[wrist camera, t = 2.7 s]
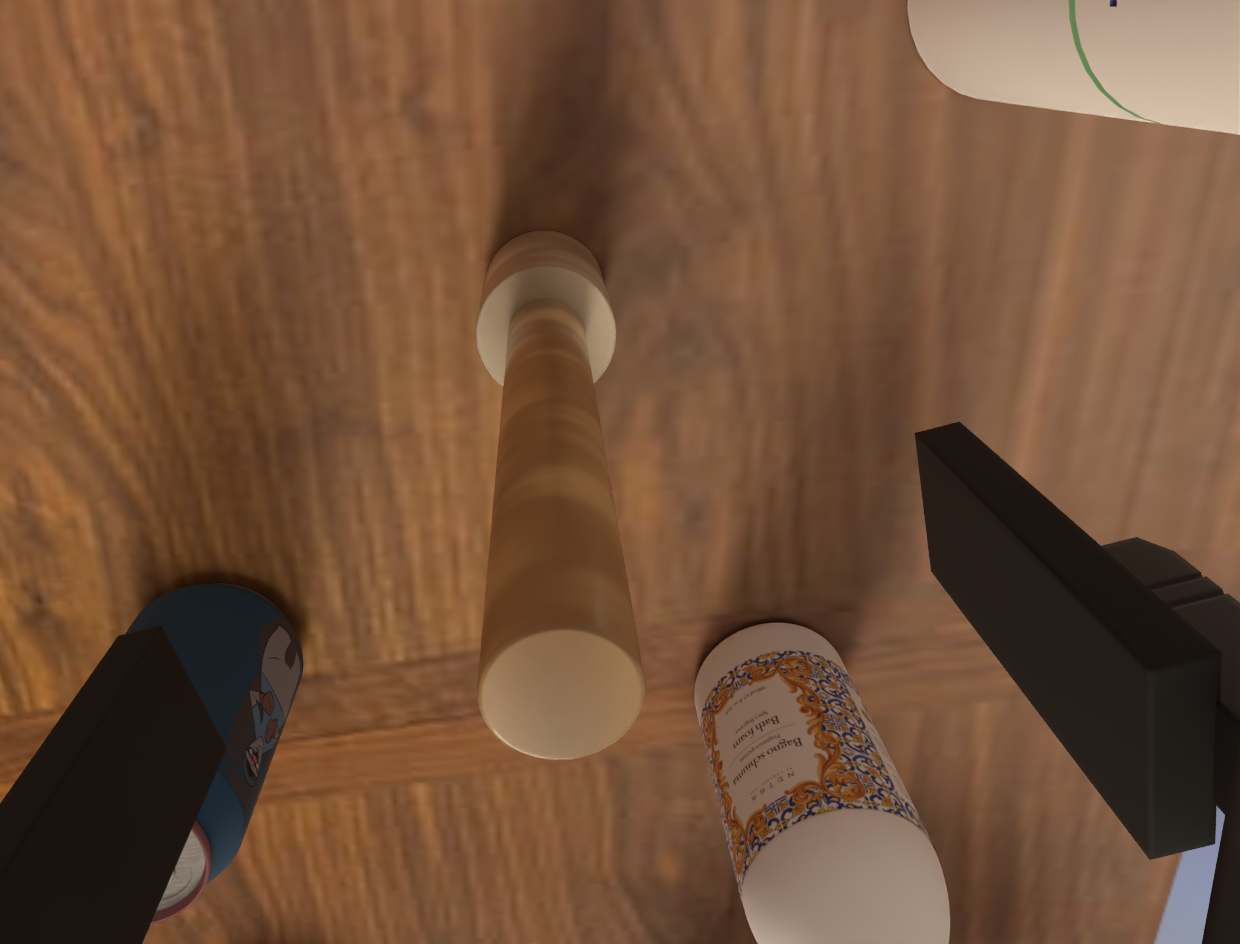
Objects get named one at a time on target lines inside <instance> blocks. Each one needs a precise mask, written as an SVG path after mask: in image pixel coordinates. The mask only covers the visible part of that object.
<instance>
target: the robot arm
mask: <svg viewBox="0 0 1240 944" xmlns="http://www.w3.org/2000/svg"><path fill="white" fill-rule="evenodd" d="M915 439H916V447H917V456H918V464H919V473H920V481H921V490H922V498H923V507H924V515H925V524H926V532H927V541H928V549H929V557H930V566H931V572H932V573H933V574H934V576H935V577H936V578H937V580H938V581H939V582H940V584H941V585H942V586H943V588H944V589H945V590H946V592H947V593H948V594H949V595H950V597H951V598H952V599H953V601H954V602H955V603H956V605H957V606H958V607H959V609H960V610H961V611H962V613H963V614H964V615H965V617H966V618H967V619H968V621H969V622H970V623H971V625H972V626H973V627H974V628H975V630H976V631H977V632H978V634H979V635H980V636H981V638H982V639H983V640H984V642H985V643H986V644H987V646H988V647H989V648H990V650H991V651H992V652H993V654H994V655H995V656H996V657H997V659H998V660H999V661H1000V663H1001V664H1002V665H1003V667H1004V668H1005V669H1006V671H1007V672H1008V673H1009V675H1010V676H1011V677H1012V679H1013V680H1014V681H1015V683H1016V684H1017V685H1018V687H1019V688H1020V689H1021V690H1022V692H1023V693H1024V694H1025V696H1026V697H1027V698H1028V700H1029V701H1030V702H1031V704H1032V705H1033V706H1034V708H1035V709H1036V710H1037V712H1038V713H1039V714H1040V716H1041V717H1042V718H1043V719H1044V721H1045V722H1046V723H1047V725H1048V726H1049V727H1050V729H1051V730H1052V731H1053V733H1054V734H1055V735H1056V737H1057V738H1058V739H1059V741H1060V742H1061V743H1062V745H1063V746H1064V747H1065V749H1066V750H1067V751H1068V752H1069V754H1070V755H1071V756H1072V758H1073V759H1074V760H1075V762H1076V763H1077V764H1078V766H1079V767H1080V768H1081V770H1082V771H1083V772H1084V774H1085V775H1086V776H1087V778H1088V779H1089V780H1090V781H1091V783H1092V784H1093V785H1094V787H1095V788H1096V789H1097V791H1098V792H1099V793H1100V795H1101V796H1102V797H1103V799H1104V800H1105V801H1106V803H1107V804H1108V805H1109V807H1110V808H1111V809H1112V810H1113V812H1114V813H1115V814H1116V816H1117V817H1118V818H1119V820H1120V821H1121V822H1122V824H1123V825H1124V826H1125V828H1126V829H1127V830H1128V832H1129V833H1130V834H1131V836H1132V837H1133V838H1134V840H1135V841H1136V842H1137V843H1138V845H1139V846H1140V847H1141V849H1142V850H1143V851H1144V853H1145V854H1146V855H1147V857H1148V858H1149V859H1150V860H1151V859H1155V858H1159V857H1163V856H1168V855H1172V854H1176V853H1180V852H1184V851H1188V850H1192V849H1196V848H1200V847H1205V846H1209V845H1213V844H1215V831H1216V805H1217V806H1218V808H1219V809H1220V810H1221V811H1222V812H1223V813H1224V814H1225V820H1224V825H1223V830H1222V836H1221V842H1220V847H1219V852H1218V858H1217V863H1216V869H1215V874H1214V880H1213V886H1212V891H1211V896H1210V903H1209V908H1208V913H1207V918H1206V924H1205V929H1204V935H1203V940H1202V944H1240V603H1239V602H1238V601H1237V600H1235V599H1234V598H1233V597H1232V596H1230V595H1229V594H1224V593H1223V590H1222V589H1221V588H1220V587H1219V586H1218V585H1216V584H1215V583H1214V582H1212V581H1211V580H1210V579H1209V578H1207V577H1202V575H1201V572H1200V571H1199V570H1197V569H1196V568H1195V567H1193V566H1192V565H1191V564H1190V563H1188V562H1187V561H1186V560H1185V559H1183V558H1182V557H1181V556H1179V555H1178V554H1177V553H1176V552H1174V551H1172V550H1169V549H1167V548H1164V547H1161V546H1159V545H1156V544H1153V543H1151V542H1148V541H1146V540H1143V539H1140V538H1138V537H1135V538H1131V539H1127V540H1123V541H1119V542H1115V543H1111V544H1107V545H1103V546H1100V545H1099V544H1098V543H1097V542H1096V541H1095V540H1093V539H1092V538H1091V537H1090V536H1089V535H1088V534H1087V533H1086V532H1084V531H1083V530H1082V529H1081V528H1080V527H1079V526H1078V525H1076V524H1075V523H1074V522H1073V521H1072V520H1071V519H1070V518H1068V517H1067V516H1066V515H1065V514H1064V513H1063V512H1062V511H1061V510H1059V509H1058V508H1057V507H1056V506H1055V505H1054V504H1053V503H1051V502H1050V501H1049V500H1048V499H1047V498H1046V497H1045V496H1043V495H1042V494H1041V493H1040V492H1039V491H1038V490H1037V489H1036V488H1034V487H1033V486H1032V485H1031V484H1030V483H1029V482H1028V481H1026V480H1025V479H1024V478H1023V477H1022V476H1021V475H1020V474H1018V473H1017V472H1016V471H1015V470H1014V469H1013V468H1012V467H1011V466H1009V465H1008V464H1007V463H1006V462H1005V461H1004V460H1003V459H1001V458H1000V457H999V456H998V455H997V454H996V453H995V452H993V451H992V450H991V449H990V448H989V447H988V446H987V445H986V444H984V443H983V442H982V441H981V440H980V439H979V438H978V437H976V436H975V435H974V434H973V433H972V432H971V431H970V430H968V429H967V428H966V427H965V426H964V425H963V424H962V423H961V422H957V423H953V424H949V425H945V426H941V427H937V428H933V429H929V430H925V431H921V432H917V433H915ZM226 750H227V747H226V745H225V743H224V741H223V740H222V738H221V736H220V734H219V732H218V730H217V728H216V726H215V725H214V723H213V721H212V719H211V717H210V715H209V713H208V711H207V710H206V708H205V706H204V704H203V702H202V700H201V698H200V696H199V695H198V693H197V691H196V689H195V687H194V685H193V683H192V681H191V680H190V678H189V676H188V674H187V672H186V670H185V668H184V667H183V665H182V663H181V661H180V659H179V657H178V655H177V653H176V652H175V650H174V648H173V646H172V644H171V642H170V640H169V638H168V637H167V635H166V633H165V631H164V629H163V627H162V625H160V626H156V627H152V628H148V629H144V630H140V631H136V632H132V633H128V634H124V635H120V636H118V637H117V638H116V640H115V641H114V643H113V644H112V646H111V647H110V648H109V650H108V651H107V653H106V654H105V656H104V657H103V658H102V660H101V661H100V663H99V664H98V666H97V667H96V668H95V670H94V671H93V673H92V674H91V675H90V677H89V678H88V680H87V681H86V683H85V684H84V685H83V687H82V688H81V690H80V691H79V693H78V694H77V695H76V697H75V698H74V700H73V701H72V702H71V704H70V705H69V707H68V708H67V710H66V711H65V712H64V714H63V715H62V717H61V718H60V720H59V721H58V722H57V724H56V725H55V727H54V728H53V729H52V731H51V732H50V734H49V735H48V737H47V738H46V739H45V741H44V742H43V744H42V745H41V747H40V748H39V749H38V751H37V752H36V754H35V755H34V756H33V758H32V759H31V761H30V762H29V764H28V765H27V766H26V768H25V769H24V771H23V772H22V774H21V775H20V776H19V778H18V779H17V781H16V782H15V783H14V785H13V786H12V788H11V789H10V791H9V792H8V793H7V795H6V796H5V798H4V799H3V801H2V802H1V803H0V944H142V942H143V940H144V938H145V935H146V933H147V931H148V929H149V926H150V924H151V922H152V919H153V917H154V915H155V913H156V910H157V908H158V906H159V903H160V901H161V899H162V896H163V894H164V892H165V890H166V887H167V885H168V883H169V880H170V878H171V876H172V874H173V871H174V869H175V867H176V864H177V862H178V860H179V857H180V855H181V853H182V851H183V848H184V846H185V844H186V841H187V839H188V837H189V835H190V832H191V830H192V828H193V825H194V823H195V821H196V818H197V816H198V814H199V812H200V809H201V807H202V805H203V802H204V800H205V798H206V796H207V793H208V791H209V789H210V786H211V784H212V782H213V779H214V777H215V775H216V773H217V770H218V768H219V766H220V763H221V761H222V759H223V757H224V754H225V752H226Z"/></svg>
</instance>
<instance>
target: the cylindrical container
mask: <svg viewBox="0 0 1240 944" xmlns="http://www.w3.org/2000/svg"><path fill="white" fill-rule="evenodd" d="M907 11H908V18H909V25H910V31H911V34H912V37H913V40H914V43H915V45H916V48H917V51H918V53H919V55H920V56H921V58H922V59H923V61H924V63H925V64H926V66H927V67H928V69H929V70H930V71H931V72H932V73H933V74H934V75H935V76H936V77H937V78H938V79H939V80H940V81H941V82H942V83H943V84H944V85H946V86H948V87H949V88H951V89H953V90H954V91H956V92H958V93H959V94H962V95H966V96H969V97H972V98H975V99H980V100H988V101H995V102H1002V103H1010V104H1017V105H1025V106H1032V107H1040V108H1047V109H1054V110H1062V111H1069V112H1077V113H1084V114H1091V115H1099V116H1106V117H1114V118H1121V119H1128V120H1136V121H1143V122H1151V123H1158V124H1166V125H1173V126H1180V127H1188V128H1195V129H1203V130H1210V131H1217V132H1225V133H1232V134H1240V0H908V2H907Z"/></svg>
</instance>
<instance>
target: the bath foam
mask: <svg viewBox="0 0 1240 944" xmlns="http://www.w3.org/2000/svg"><path fill="white" fill-rule="evenodd" d="M694 699H695V706H696V711H697V715H698V720H699V724H700V728H701V734H702V738H703V742H704V747H705V751H706V755H707V759H708V763H709V767H710V772H711V776H712V780H713V784H714V788H715V793H716V797H717V801H718V805H719V809H720V814H721V818H722V822H723V826H724V830H725V835H726V839H727V843H728V847H729V851H730V855H731V860H732V864H733V868H734V872H735V876H736V881H737V885H738V889H739V893H740V897H741V902H742V906H743V910H744V913H745V915H746V917H747V920H748V923H749V925H750V928H751V930H752V933H753V935H754V937H755V939H756V941H757V943H758V944H948V943H949V935H950V909H949V900H948V893H947V888H946V883H945V879H944V875H943V872H942V869H941V865H940V863H939V860H938V857H937V853H936V850H935V848H934V846H933V844H932V842H931V840H930V838H929V836H928V834H927V831H926V829H925V827H924V825H923V823H922V821H921V819H920V817H919V815H918V813H917V811H916V809H915V807H914V805H913V803H912V801H911V799H910V797H909V795H908V793H907V791H906V789H905V787H904V785H903V783H902V781H901V779H900V777H899V775H898V773H897V771H896V769H895V767H894V765H893V762H892V760H891V758H890V756H889V754H888V752H887V750H886V748H885V746H884V744H883V742H882V740H881V738H880V736H879V734H878V732H877V730H876V728H875V726H874V724H873V722H872V720H871V718H870V716H869V714H868V712H867V710H866V708H865V706H864V704H863V702H862V700H861V698H860V696H859V694H858V691H857V689H856V687H855V685H854V683H853V682H852V680H851V678H850V676H849V674H848V672H847V670H846V668H845V666H844V664H843V662H842V660H841V658H840V656H839V655H838V653H837V652H836V650H835V649H834V648H833V646H832V645H831V644H830V643H829V642H828V641H827V640H826V639H825V638H823V637H822V636H821V635H819V634H817V633H816V632H814V631H812V630H810V629H808V628H805V627H802V626H799V625H795V624H789V623H765V624H760V625H755V626H752V627H748V628H746V629H743V630H741V631H738V632H736V633H734V634H733V635H731V636H729V637H728V638H726V639H725V640H723V641H722V642H721V643H720V644H718V645H717V646H716V647H715V648H714V649H713V650H712V651H711V653H710V654H709V655H708V656H707V658H706V659H705V661H704V662H703V664H702V666H701V668H700V670H699V672H698V675H697V678H696V682H695V689H694Z"/></svg>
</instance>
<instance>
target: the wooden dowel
mask: <svg viewBox="0 0 1240 944" xmlns="http://www.w3.org/2000/svg"><path fill="white" fill-rule="evenodd" d="M476 341H477V347H478V351H479V354H480V357H481V359H482V362H483V364H484V365H485V367H486V369H487V370H488V372H489V373H490V374H491V376H492V377H493V378H494V379H495V380H496V381H497V382H498V383H499V384H500V385H502V386H503V397H502V409H501V420H500V432H499V443H498V454H497V466H496V477H495V489H494V500H493V512H492V523H491V535H490V546H489V558H488V569H487V580H486V592H485V603H484V615H483V626H482V638H481V649H480V661H479V672H478V684H477V700H478V706H479V709H480V712H481V715H482V717H483V719H484V721H485V723H486V724H487V726H488V727H489V729H490V730H491V731H492V732H493V734H494V735H495V736H496V737H497V738H498V739H499V740H501V741H502V742H503V743H504V744H506V745H507V746H509V747H510V748H512V749H514V750H516V751H518V752H520V753H522V754H525V755H528V756H531V757H535V758H539V759H546V760H571V759H577V758H582V757H586V756H589V755H592V754H595V753H597V752H599V751H602V750H604V749H605V748H607V747H609V746H611V745H612V744H613V743H615V742H616V741H618V740H619V739H620V738H621V737H622V736H623V735H624V734H625V733H626V732H627V731H628V730H629V729H630V728H631V726H632V725H633V723H634V722H635V720H636V719H637V717H638V715H639V713H640V710H641V708H642V705H643V701H644V696H645V679H644V673H643V667H642V661H641V655H640V650H639V644H638V638H637V632H636V626H635V621H634V615H633V609H632V603H631V598H630V592H629V586H628V580H627V574H626V569H625V563H624V557H623V551H622V545H621V540H620V534H619V528H618V522H617V516H616V511H615V505H614V499H613V493H612V487H611V482H610V476H609V470H608V464H607V458H606V453H605V447H604V441H603V435H602V429H601V424H600V418H599V412H598V406H597V401H596V395H595V389H594V383H595V382H596V381H597V380H598V379H599V378H600V377H601V376H602V374H603V373H604V371H605V370H606V369H607V367H608V365H609V363H610V361H611V358H612V356H613V353H614V349H615V344H616V324H615V319H614V315H613V311H612V308H611V304H610V301H609V297H608V294H607V290H606V287H605V284H604V280H603V277H602V273H601V270H600V268H599V265H598V263H597V261H596V260H595V258H594V257H593V255H592V254H591V253H590V251H589V250H588V249H587V248H586V247H585V246H584V245H583V244H581V243H580V242H579V241H577V240H576V239H574V238H572V237H570V236H568V235H566V234H563V233H560V232H555V231H547V230H540V231H532V232H527V233H524V234H521V235H519V236H517V237H515V238H513V239H512V240H510V241H509V242H507V243H506V244H505V245H504V246H503V247H502V248H501V249H500V250H499V251H498V252H497V253H496V255H495V256H494V258H493V259H492V261H491V263H490V265H489V268H488V271H487V274H486V278H485V283H484V288H483V293H482V298H481V303H480V308H479V313H478V318H477V324H476Z"/></svg>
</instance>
